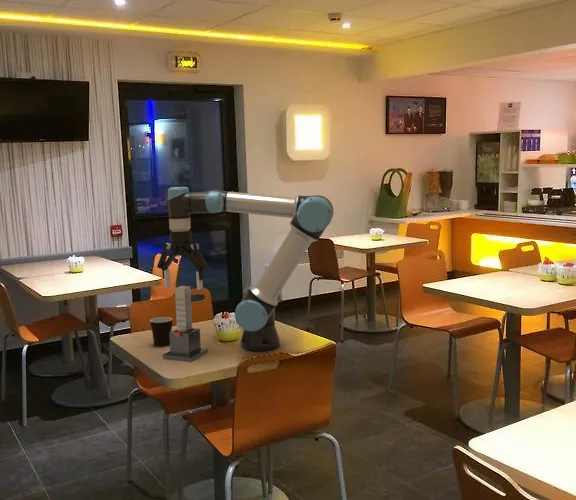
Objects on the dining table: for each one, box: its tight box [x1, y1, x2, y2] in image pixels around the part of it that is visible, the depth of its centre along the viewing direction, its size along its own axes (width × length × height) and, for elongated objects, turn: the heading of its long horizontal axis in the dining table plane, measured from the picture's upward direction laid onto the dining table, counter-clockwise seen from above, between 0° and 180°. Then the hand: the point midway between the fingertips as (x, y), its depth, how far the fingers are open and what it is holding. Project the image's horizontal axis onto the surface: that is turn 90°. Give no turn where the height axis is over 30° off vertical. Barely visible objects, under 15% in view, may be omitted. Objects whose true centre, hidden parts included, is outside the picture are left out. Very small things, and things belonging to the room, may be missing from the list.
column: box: [174, 285, 193, 333], centre depth 226 cm, size 4×4×18 cm
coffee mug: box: [149, 316, 173, 348], centre depth 244 cm, size 12×9×10 cm
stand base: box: [162, 327, 209, 363], centre depth 228 cm, size 12×12×10 cm
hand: (183, 288), depth 225 cm, fingers open, 13 cm apart
